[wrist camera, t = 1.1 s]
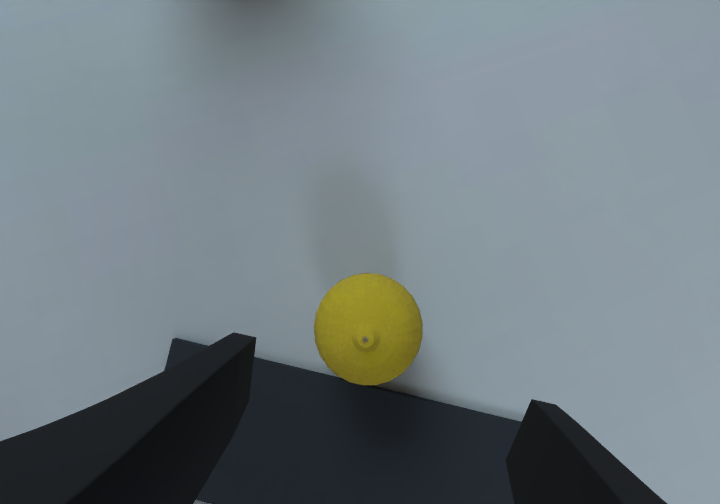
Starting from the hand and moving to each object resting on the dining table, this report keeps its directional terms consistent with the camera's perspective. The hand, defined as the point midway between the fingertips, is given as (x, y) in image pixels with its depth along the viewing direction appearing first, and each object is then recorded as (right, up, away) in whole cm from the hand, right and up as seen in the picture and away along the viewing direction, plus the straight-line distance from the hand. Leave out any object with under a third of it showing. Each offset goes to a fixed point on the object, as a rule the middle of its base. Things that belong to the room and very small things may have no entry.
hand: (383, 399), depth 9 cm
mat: (-2, -9, +12) cm, 15 cm away
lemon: (0, 0, +13) cm, 13 cm away
